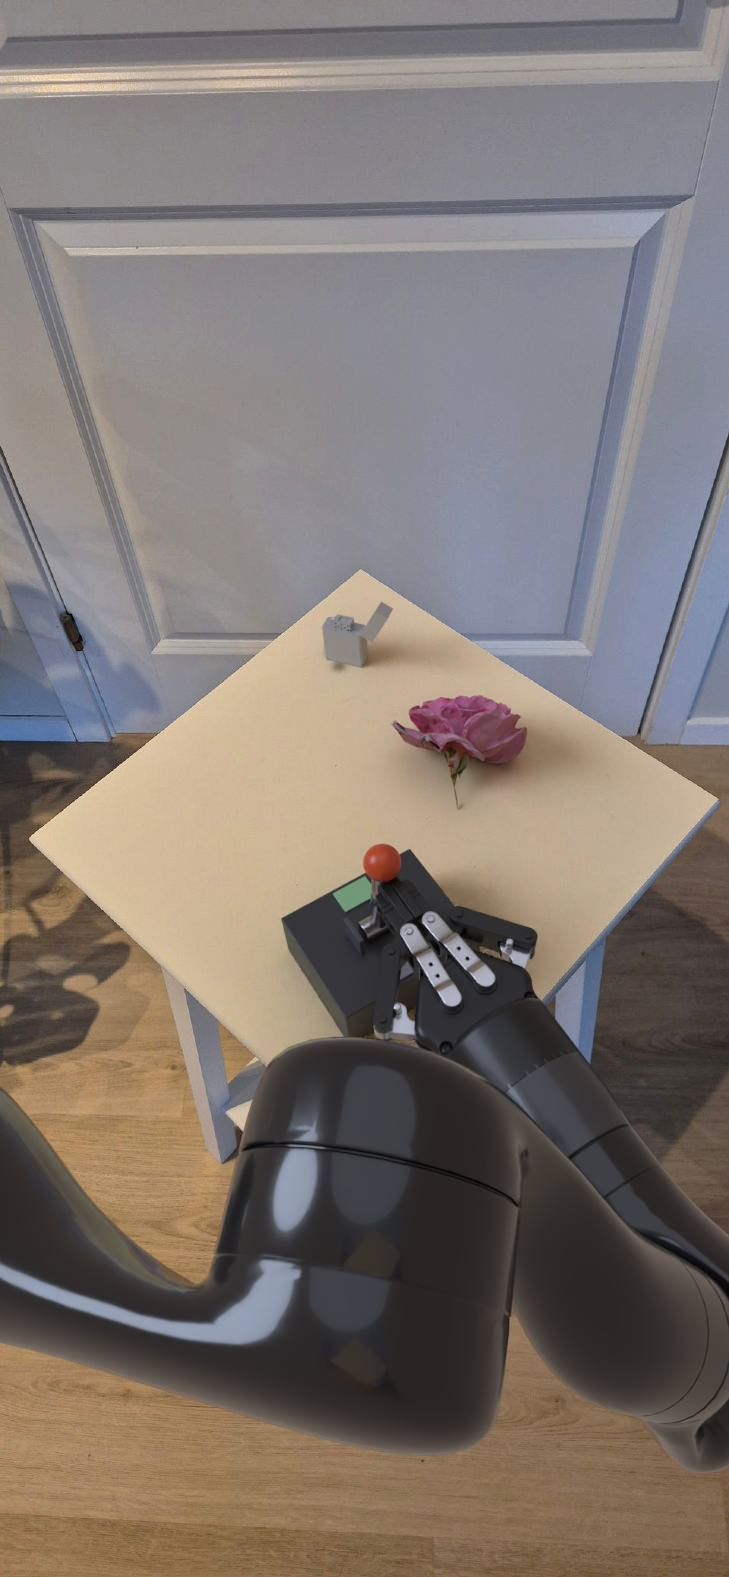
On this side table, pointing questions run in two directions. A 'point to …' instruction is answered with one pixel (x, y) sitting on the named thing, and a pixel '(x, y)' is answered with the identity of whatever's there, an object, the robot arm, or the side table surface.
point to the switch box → (354, 947)
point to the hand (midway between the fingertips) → (386, 886)
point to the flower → (465, 731)
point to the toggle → (380, 868)
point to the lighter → (352, 636)
